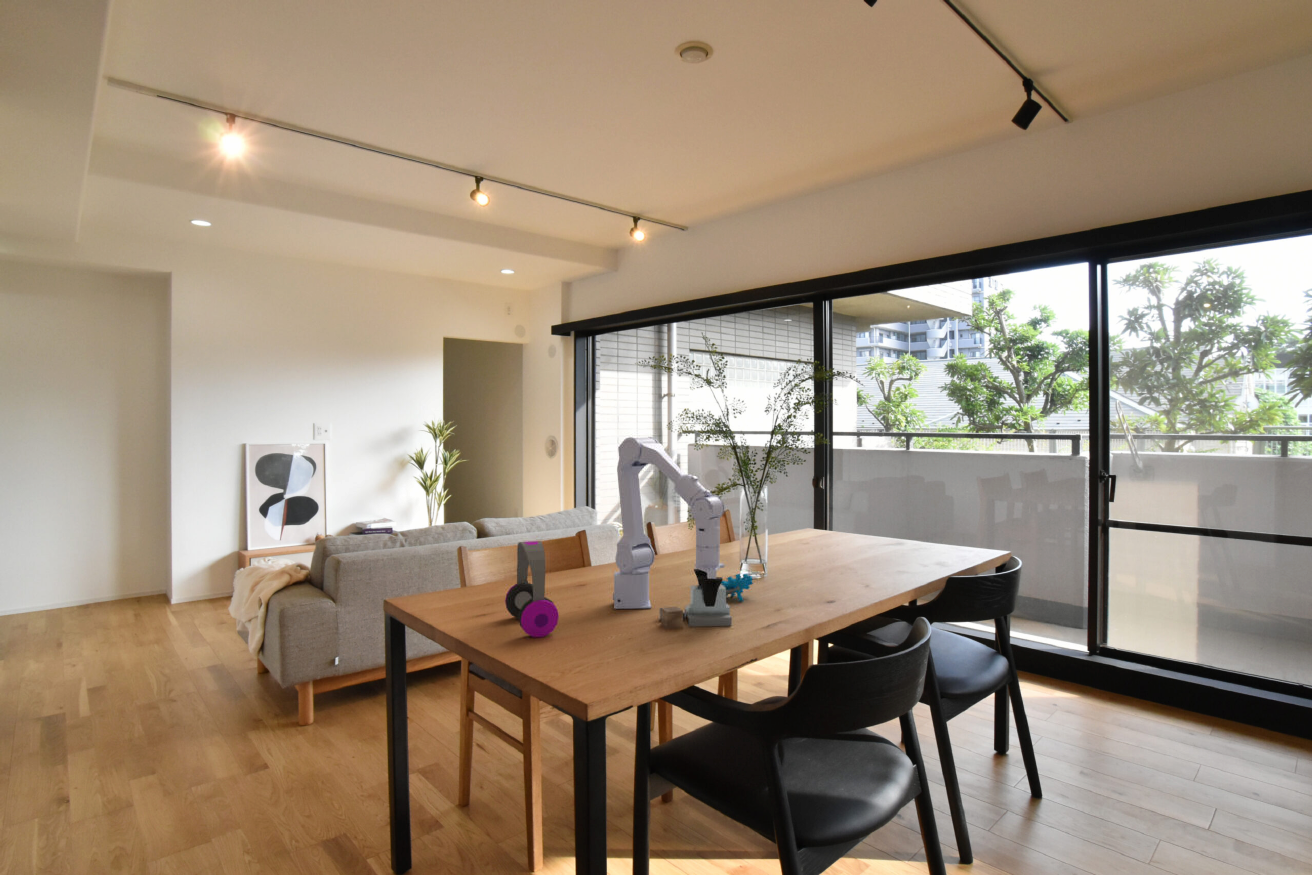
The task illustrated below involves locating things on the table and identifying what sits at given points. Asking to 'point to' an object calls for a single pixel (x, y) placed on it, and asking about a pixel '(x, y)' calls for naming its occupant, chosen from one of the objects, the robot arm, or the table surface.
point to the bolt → (660, 614)
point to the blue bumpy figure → (737, 585)
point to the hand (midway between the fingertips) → (707, 602)
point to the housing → (699, 605)
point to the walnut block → (671, 617)
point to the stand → (708, 619)
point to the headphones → (531, 592)
